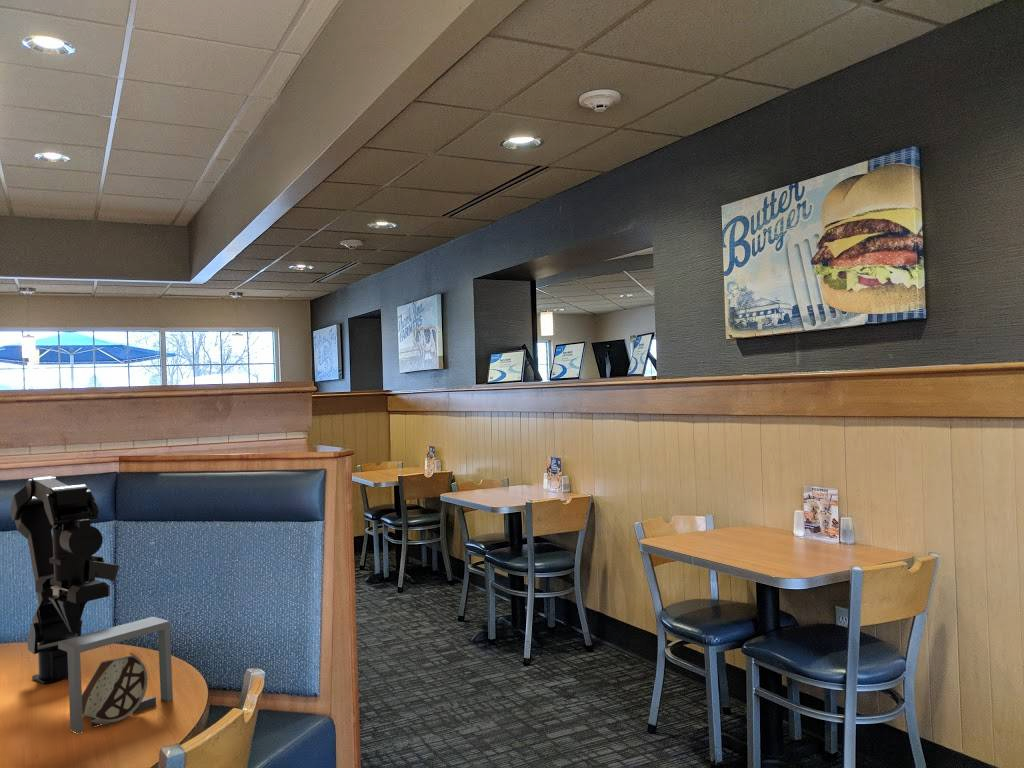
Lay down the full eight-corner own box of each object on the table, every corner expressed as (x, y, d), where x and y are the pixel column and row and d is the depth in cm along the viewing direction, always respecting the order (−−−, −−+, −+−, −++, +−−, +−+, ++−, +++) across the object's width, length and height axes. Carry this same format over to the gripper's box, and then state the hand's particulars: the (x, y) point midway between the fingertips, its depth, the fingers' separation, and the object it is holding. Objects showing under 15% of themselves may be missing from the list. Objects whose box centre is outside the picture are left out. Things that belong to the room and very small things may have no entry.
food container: (94, 734, 141) (126, 736, 136) (66, 720, 138) (97, 721, 133) (132, 668, 149) (162, 667, 144) (105, 653, 146) (136, 652, 140)
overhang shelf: (61, 726, 136) (57, 641, 136) (156, 693, 150) (153, 616, 150) (77, 734, 132) (73, 647, 132) (172, 700, 146) (169, 621, 146)
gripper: (135, 547, 152) (139, 627, 152) (91, 539, 164) (94, 614, 163) (75, 558, 143) (79, 644, 143) (32, 549, 155) (35, 628, 155)
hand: (73, 631), depth 151 cm, fingers closed
